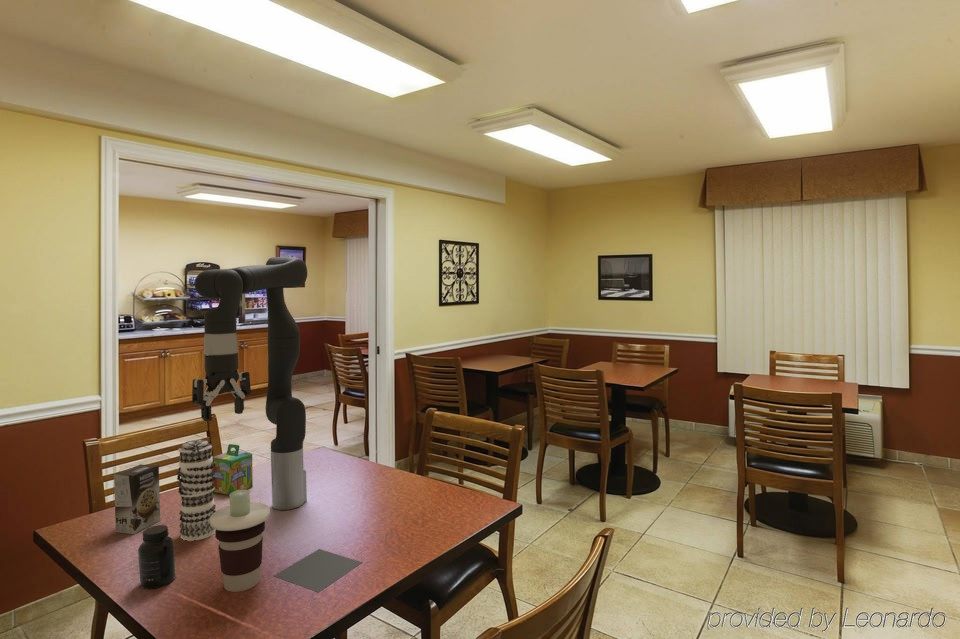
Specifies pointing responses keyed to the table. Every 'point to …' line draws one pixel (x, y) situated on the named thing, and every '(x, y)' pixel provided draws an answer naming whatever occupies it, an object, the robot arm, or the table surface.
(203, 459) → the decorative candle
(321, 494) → the table surface
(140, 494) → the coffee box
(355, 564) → the mat
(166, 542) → the supplement bottle
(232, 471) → the chalk box
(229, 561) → the coffee cup
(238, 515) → the lid
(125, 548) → the table surface
